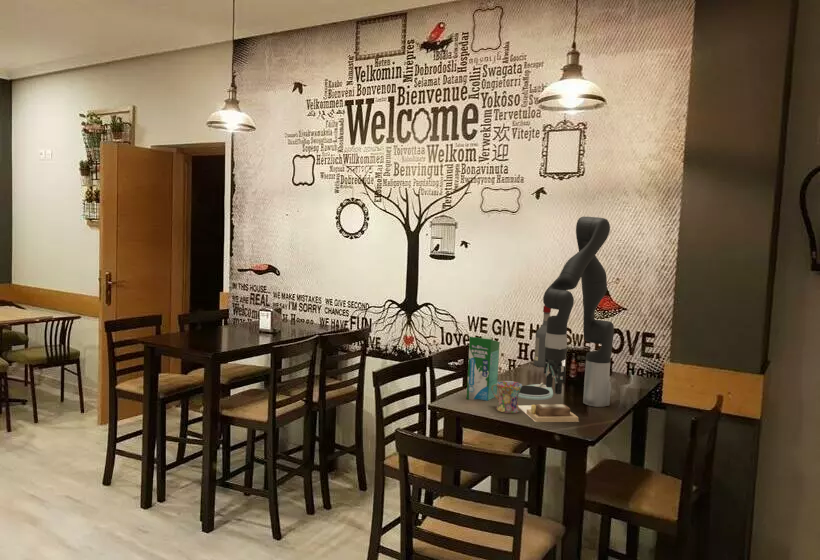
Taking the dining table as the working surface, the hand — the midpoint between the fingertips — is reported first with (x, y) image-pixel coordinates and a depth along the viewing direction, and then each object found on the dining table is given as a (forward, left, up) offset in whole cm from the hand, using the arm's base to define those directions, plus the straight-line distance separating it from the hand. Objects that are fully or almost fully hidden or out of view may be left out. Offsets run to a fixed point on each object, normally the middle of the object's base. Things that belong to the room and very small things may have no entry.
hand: (553, 390), depth 227 cm
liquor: (-31, -88, -11) cm, 94 cm away
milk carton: (+18, -28, -11) cm, 35 cm away
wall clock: (-6, -34, -11) cm, 36 cm away
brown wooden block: (0, 0, -10) cm, 10 cm away
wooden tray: (0, -5, -11) cm, 12 cm away
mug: (+14, -11, -11) cm, 21 cm away
